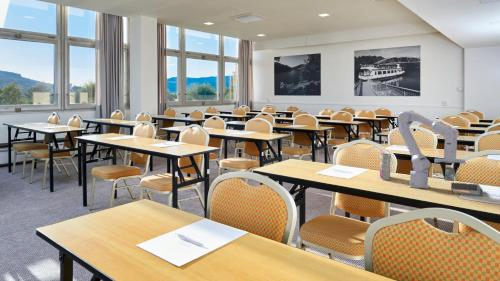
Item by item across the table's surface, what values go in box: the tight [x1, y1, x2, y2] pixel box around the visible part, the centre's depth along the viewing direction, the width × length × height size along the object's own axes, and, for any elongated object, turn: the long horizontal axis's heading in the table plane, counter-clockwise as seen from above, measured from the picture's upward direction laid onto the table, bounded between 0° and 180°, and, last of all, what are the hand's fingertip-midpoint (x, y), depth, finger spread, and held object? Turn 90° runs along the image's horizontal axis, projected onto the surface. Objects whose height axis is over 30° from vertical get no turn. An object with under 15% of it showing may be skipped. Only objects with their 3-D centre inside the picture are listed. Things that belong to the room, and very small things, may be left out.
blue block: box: [443, 166, 455, 182], centre depth 200 cm, size 4×7×6 cm, turn 160°
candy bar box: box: [379, 150, 392, 181], centre depth 232 cm, size 11×5×16 cm, turn 168°
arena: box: [450, 181, 484, 197], centre depth 199 cm, size 13×12×3 cm
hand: (448, 176), depth 200 cm, fingers closed on blue block, 4 cm apart
